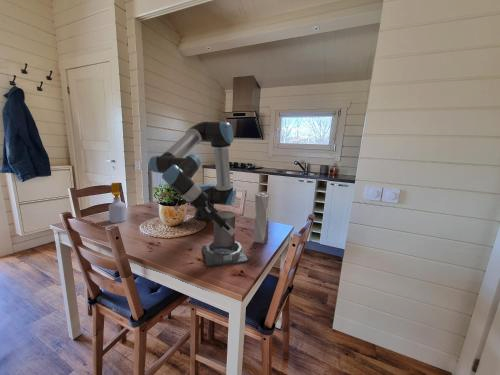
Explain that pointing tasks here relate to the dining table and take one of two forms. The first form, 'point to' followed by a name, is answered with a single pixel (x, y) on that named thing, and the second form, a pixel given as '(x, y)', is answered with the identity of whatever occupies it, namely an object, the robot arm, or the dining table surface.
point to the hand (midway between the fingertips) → (230, 228)
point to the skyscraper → (261, 218)
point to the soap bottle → (117, 206)
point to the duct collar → (223, 255)
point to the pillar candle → (221, 234)
